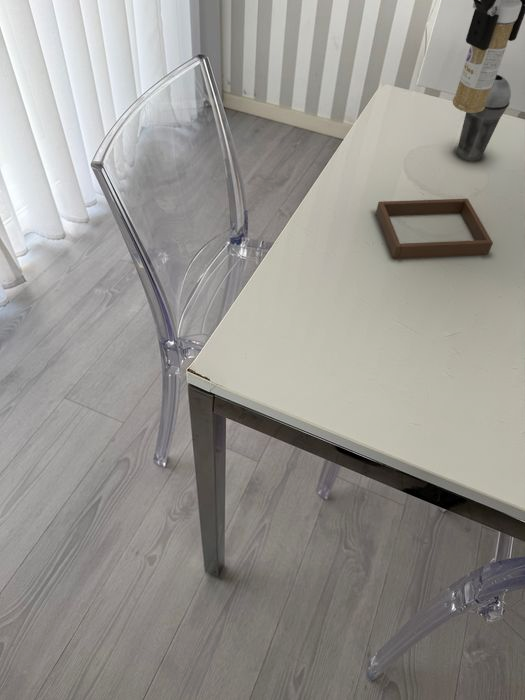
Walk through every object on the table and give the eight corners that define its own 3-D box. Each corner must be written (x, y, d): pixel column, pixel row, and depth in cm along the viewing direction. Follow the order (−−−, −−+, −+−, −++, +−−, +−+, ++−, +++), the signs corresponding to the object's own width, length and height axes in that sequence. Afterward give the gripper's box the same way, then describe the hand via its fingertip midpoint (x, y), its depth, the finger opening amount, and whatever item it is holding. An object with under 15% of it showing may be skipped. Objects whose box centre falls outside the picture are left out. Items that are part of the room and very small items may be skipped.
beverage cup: (495, 161, 109) (537, 53, 94) (469, 172, 107) (509, 63, 91) (466, 143, 113) (503, 37, 98) (441, 153, 110) (475, 46, 95)
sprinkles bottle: (447, 99, 80) (478, -8, 70) (477, 97, 81) (512, -9, 70) (459, 115, 77) (494, 6, 67) (490, 113, 78) (529, 5, 67)
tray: (462, 213, 98) (467, 198, 96) (486, 257, 91) (493, 242, 89) (374, 216, 97) (378, 201, 94) (392, 262, 89) (396, 246, 87)
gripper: (531, -131, 53) (468, 68, 67) (630, -146, 60) (554, 38, 74) (469, -147, 57) (422, 45, 71) (569, -159, 63) (508, 18, 78)
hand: (490, 39), depth 72 cm, fingers closed on sprinkles bottle, 4 cm apart
